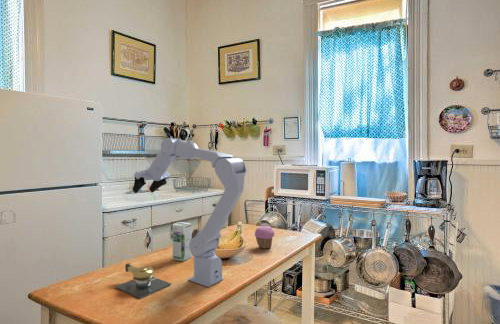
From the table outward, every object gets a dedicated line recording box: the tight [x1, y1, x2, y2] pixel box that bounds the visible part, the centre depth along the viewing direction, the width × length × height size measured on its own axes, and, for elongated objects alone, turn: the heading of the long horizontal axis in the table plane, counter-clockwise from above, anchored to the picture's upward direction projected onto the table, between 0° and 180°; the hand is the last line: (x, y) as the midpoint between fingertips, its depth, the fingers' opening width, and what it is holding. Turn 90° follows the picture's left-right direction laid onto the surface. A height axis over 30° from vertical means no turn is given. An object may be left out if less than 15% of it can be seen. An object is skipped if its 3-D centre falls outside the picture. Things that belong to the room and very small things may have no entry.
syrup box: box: [172, 221, 193, 262], centre depth 134 cm, size 6×6×14 cm
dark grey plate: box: [114, 276, 172, 300], centre depth 108 cm, size 13×12×3 cm
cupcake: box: [254, 225, 275, 250], centre depth 149 cm, size 9×9×10 cm
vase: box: [192, 228, 200, 238], centre depth 147 cm, size 7×7×9 cm
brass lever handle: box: [124, 263, 155, 280], centre depth 109 cm, size 12×6×2 cm, turn 54°
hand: (142, 191), depth 126 cm, fingers open, 7 cm apart
